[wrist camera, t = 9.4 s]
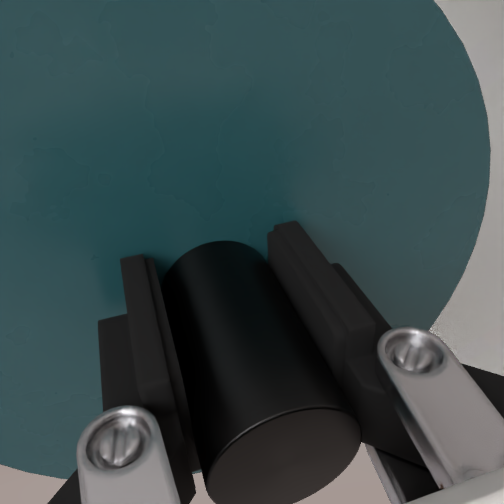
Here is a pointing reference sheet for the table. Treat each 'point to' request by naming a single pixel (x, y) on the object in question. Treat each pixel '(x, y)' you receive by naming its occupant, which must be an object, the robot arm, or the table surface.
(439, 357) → the robot arm
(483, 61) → the table surface
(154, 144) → the pot lid
